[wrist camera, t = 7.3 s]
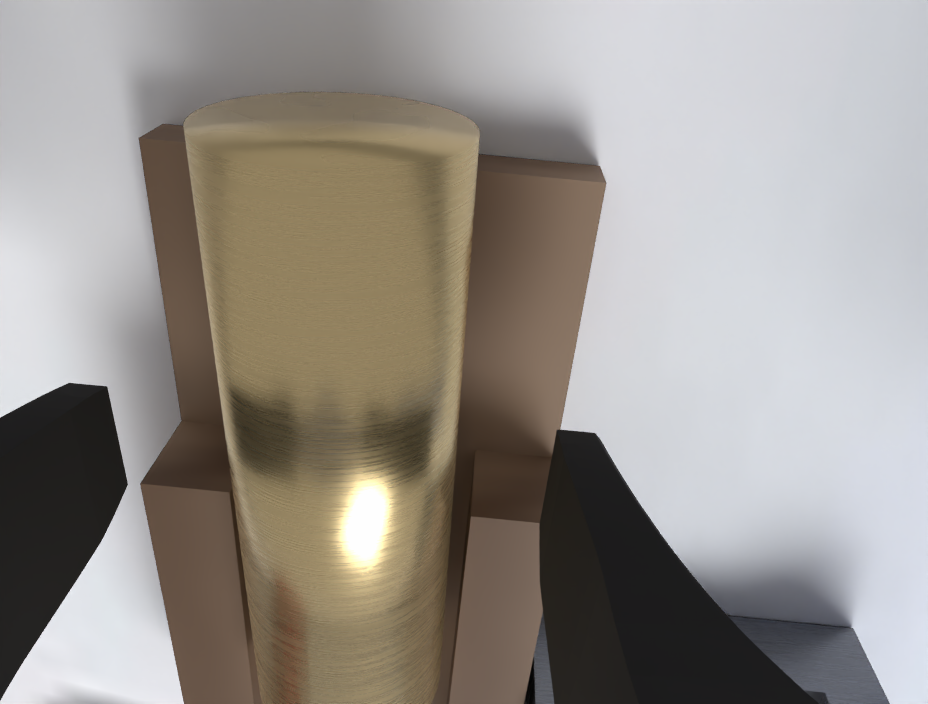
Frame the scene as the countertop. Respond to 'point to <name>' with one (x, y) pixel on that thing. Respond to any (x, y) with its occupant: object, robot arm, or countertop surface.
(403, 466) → the brass axle
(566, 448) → the robot arm
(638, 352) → the countertop surface
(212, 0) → the countertop surface
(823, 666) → the v block
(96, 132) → the countertop surface
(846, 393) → the countertop surface
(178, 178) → the brown wooden cradle
